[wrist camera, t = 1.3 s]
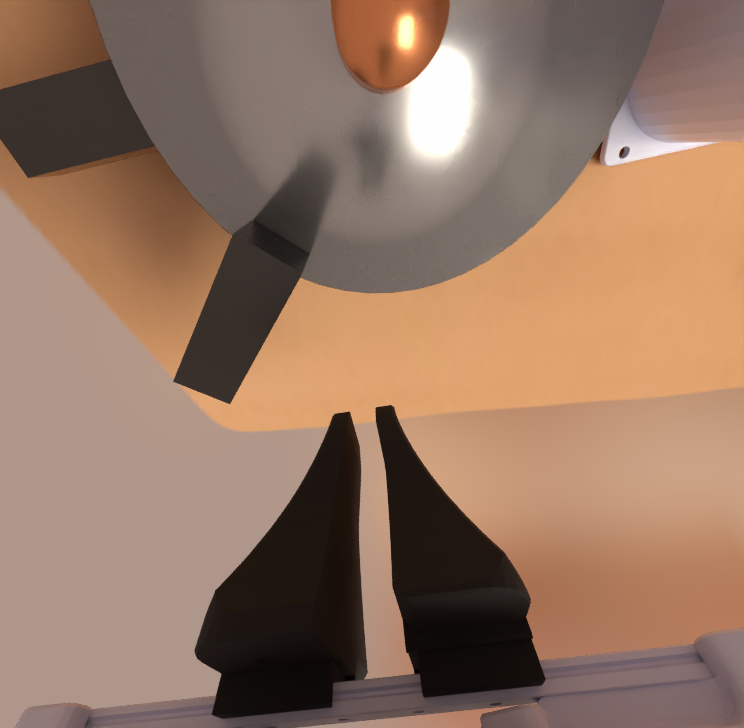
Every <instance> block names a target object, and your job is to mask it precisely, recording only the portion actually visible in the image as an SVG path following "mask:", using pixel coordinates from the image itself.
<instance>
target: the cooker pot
mask: <svg viewBox="0 0 744 728" xmlns="http://www.w3.org/2000/svg"><path fill="white" fill-rule="evenodd" d="M0 139H1V140H2V142H3V143H4V145H5V146H6V147H7V149H8V150H9V152H10V153H11V154H12V156H13V157H14V159H15V160H16V161H17V163H18V164H19V166H20V167H21V168H22V170H23V171H24V173H25V174H26V175H27V177H28V178H34V177H45V176H56V175H63V174H67V173H71V172H75V171H79V170H83V169H87V168H91V167H95V166H99V165H103V164H107V163H111V162H115V161H119V160H123V159H127V158H131V157H135V156H139V155H143V154H147V153H151V152H155V151H158V149H157V148H156V146H155V145H154V143H153V142H152V140H151V139H150V137H149V135H148V134H147V132H146V130H145V128H144V126H143V124H142V123H141V121H140V119H139V117H138V115H137V113H136V112H135V110H134V108H133V106H132V104H131V103H130V101H129V99H128V97H127V95H126V93H125V90H124V88H123V86H122V84H121V81H120V79H119V77H118V75H117V72H116V70H115V68H114V65H113V63H112V61H111V60H107V61H103V62H100V63H96V64H92V65H89V66H85V67H81V68H78V69H74V70H71V71H67V72H63V73H60V74H56V75H52V76H49V77H45V78H41V79H38V80H34V81H30V82H27V83H23V84H19V85H16V86H12V87H8V88H5V89H1V90H0Z"/></svg>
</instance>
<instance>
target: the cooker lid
mask: <svg viewBox="0 0 744 728" xmlns="http://www.w3.org/2000/svg"><path fill="white" fill-rule="evenodd" d="M90 3H91V6H92V9H93V12H94V15H95V18H96V21H97V24H98V27H99V29H100V32H101V35H102V38H103V41H104V44H105V47H106V49H107V52H108V54H109V56H110V59H111V61H112V63H113V65H114V68H115V70H116V72H117V75H118V77H119V79H120V81H121V84H122V86H123V88H124V90H125V93H126V95H127V97H128V99H129V101H130V103H131V104H132V106H133V108H134V110H135V112H136V113H137V115H138V117H139V119H140V121H141V123H142V124H143V126H144V128H145V130H146V132H147V134H148V135H149V137H150V139H151V140H152V142H153V143H154V145H155V146H156V148H157V149H158V151H159V152H160V154H161V155H162V157H163V158H164V160H165V161H166V163H167V164H168V166H169V167H170V169H171V170H172V172H173V173H174V174H175V175H176V177H177V178H178V179H179V180H180V182H181V183H182V184H183V185H184V187H185V188H186V189H187V190H188V192H189V193H190V194H191V195H192V196H193V198H194V199H195V200H196V201H197V202H198V203H199V204H200V205H201V207H202V208H203V209H204V210H205V211H206V212H207V213H208V214H209V215H210V216H211V217H212V218H213V219H214V220H215V221H216V222H217V223H218V224H219V225H220V226H221V227H222V228H224V229H225V230H226V231H227V232H228V233H230V234H231V235H232V238H231V241H230V243H229V246H228V248H227V250H226V253H225V255H224V258H223V260H222V263H221V265H220V268H219V270H218V273H217V275H216V277H215V280H214V282H213V285H212V287H211V290H210V292H209V295H208V297H207V300H206V302H205V305H204V307H203V309H202V312H201V314H200V317H199V319H198V322H197V324H196V327H195V329H194V332H193V334H192V337H191V339H190V341H189V344H188V346H187V349H186V351H185V354H184V356H183V359H182V361H181V364H180V366H179V368H178V371H177V373H176V376H175V378H174V381H173V382H176V383H178V384H181V385H183V386H186V387H188V388H191V389H193V390H196V391H198V392H201V393H203V394H206V395H208V396H211V397H213V398H216V399H218V400H221V401H223V402H226V403H228V404H230V403H231V401H232V399H233V398H234V396H235V394H236V392H237V390H238V389H239V387H240V385H241V383H242V381H243V380H244V378H245V376H246V374H247V372H248V371H249V369H250V367H251V365H252V363H253V362H254V360H255V358H256V356H257V354H258V352H259V351H260V349H261V347H262V345H263V343H264V342H265V340H266V338H267V336H268V334H269V333H270V331H271V329H272V327H273V325H274V324H275V322H276V320H277V318H278V316H279V315H280V313H281V311H282V309H283V307H284V306H285V304H286V302H287V300H288V298H289V297H290V295H291V293H292V291H293V289H294V287H295V286H296V284H297V282H298V280H299V278H303V279H305V280H308V281H311V282H314V283H316V284H319V285H323V286H327V287H331V288H336V289H340V290H344V291H353V292H362V293H394V292H401V291H409V290H416V289H420V288H424V287H427V286H431V285H435V284H439V283H442V282H444V281H447V280H449V279H452V278H454V277H457V276H459V275H462V274H464V273H466V272H468V271H470V270H472V269H474V268H475V267H477V266H479V265H481V264H483V263H485V262H487V261H488V260H490V259H491V258H493V257H494V256H496V255H497V254H499V253H500V252H502V251H503V250H505V249H506V248H507V247H509V246H510V245H512V244H513V243H514V242H515V241H517V240H518V239H519V238H520V237H521V236H522V235H524V234H525V233H526V232H527V231H528V230H530V229H531V228H532V227H533V226H534V225H535V224H536V223H537V222H538V221H539V220H540V219H541V218H542V217H543V216H544V215H545V214H546V213H547V212H548V211H549V210H550V209H551V208H552V207H553V206H554V205H555V204H556V203H557V202H558V201H559V200H560V198H561V197H562V196H563V195H564V193H565V192H566V191H567V190H568V188H569V187H570V186H571V185H572V183H573V182H574V181H575V180H576V178H577V177H578V176H579V175H580V174H581V172H582V171H583V169H584V168H585V166H586V165H587V163H588V162H589V160H590V159H591V157H592V156H593V154H594V153H595V151H596V150H597V148H598V147H599V145H600V144H601V142H602V141H603V139H604V138H605V136H606V134H607V132H608V130H609V129H610V127H611V125H612V123H613V121H614V120H615V118H616V116H617V114H618V112H619V111H620V109H621V107H622V105H623V103H624V102H625V99H626V97H627V95H628V93H629V91H630V88H631V86H632V84H633V82H634V80H635V77H636V75H637V73H638V71H639V69H640V66H641V64H642V62H643V60H644V58H645V55H646V52H647V49H648V46H649V44H650V41H651V38H652V35H653V33H654V30H655V27H656V24H657V21H658V19H659V16H660V13H661V10H662V8H663V4H664V0H90Z"/></svg>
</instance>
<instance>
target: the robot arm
mask: <svg viewBox="0 0 744 728" xmlns="http://www.w3.org/2000/svg"><path fill="white" fill-rule="evenodd" d="M718 142H744V0H664V4H663V8H662V10H661V13H660V16H659V19H658V21H657V24H656V27H655V30H654V33H653V35H652V38H651V41H650V44H649V46H648V49H647V52H646V55H645V58H644V60H643V62H642V64H641V66H640V69H639V71H638V73H637V75H636V77H635V80H634V82H633V84H632V86H631V88H630V91H629V93H628V95H627V97H626V99H625V102H624V103H623V105H622V107H621V109H620V111H619V112H618V114H617V116H616V118H615V120H614V121H613V123H612V125H611V127H610V129H609V130H608V132H607V134H606V136H605V138H604V139H603V142H602V148H601V153H600V163H601V164H602V165H603V166H614V165H618V164H623V163H627V162H632V161H636V160H641V159H645V158H650V157H654V156H659V155H664V154H668V153H673V152H677V151H682V150H686V149H691V148H695V147H700V146H704V145H709V144H713V143H718ZM623 147H624V153H623V155H622V156H621V157H619V152H620V150H621V149H622V148H623ZM376 423H377V428H378V433H379V438H380V443H381V448H382V453H383V457H384V462H385V469H386V479H387V490H388V491H387V492H388V505H389V522H390V540H391V561H392V585H393V590H394V593H395V596H396V599H397V603H398V606H399V609H400V612H401V615H402V618H403V627H404V636H405V645H406V652H407V653H409V656H410V659H411V662H412V665H413V668H414V674H411V675H402V676H392V677H383V678H374V679H365V680H364V678H365V677H366V675H367V672H368V671H367V660H366V647H365V634H364V621H363V605H362V593H361V592H362V591H361V574H360V555H359V554H360V553H359V509H360V487H361V484H360V483H361V460H360V447H359V443H358V439H357V436H356V432H355V429H354V425H353V421H352V418H351V414H350V412H344V413H338V414H334V416H333V417H332V420H331V423H330V425H329V428H328V431H327V433H326V435H325V438H324V440H323V442H322V444H321V446H320V449H319V451H318V453H317V455H316V457H315V459H314V461H313V463H312V465H311V467H310V468H309V470H308V472H307V474H306V476H305V478H304V480H303V481H302V483H301V485H300V486H299V488H298V490H297V491H296V493H295V494H294V496H293V497H292V499H291V500H290V502H289V504H288V505H287V506H286V508H285V509H284V511H283V512H282V513H281V515H280V516H279V518H278V519H277V521H276V522H275V523H274V525H273V526H272V527H271V529H270V530H269V531H268V532H267V533H266V535H265V536H264V537H263V538H262V540H261V541H260V542H259V543H258V544H257V546H256V547H255V548H254V549H253V550H252V552H251V553H250V554H249V555H248V556H247V557H246V559H245V560H244V561H243V562H242V563H241V564H240V565H239V566H238V567H237V568H236V569H235V571H234V572H233V573H232V574H231V575H230V576H229V577H228V578H227V579H226V580H225V581H224V582H223V583H222V584H221V586H219V588H218V589H216V591H215V593H214V596H213V598H212V601H211V603H210V605H209V608H208V610H207V613H206V616H205V619H204V622H203V625H202V629H201V632H200V635H199V638H198V641H197V644H196V647H195V654H196V657H197V659H199V660H200V661H201V662H202V663H204V664H206V665H207V666H209V667H211V668H213V669H215V670H216V671H218V672H220V673H221V679H220V682H219V686H218V690H217V694H216V696H209V697H201V698H190V699H181V700H173V701H164V702H154V703H144V704H135V705H126V706H117V707H108V708H99V709H91V708H90V707H88V706H86V705H82V704H77V703H60V704H52V705H43V706H33V707H29V708H28V709H26V710H25V711H24V713H23V714H22V716H21V717H20V719H19V721H18V723H17V724H16V726H15V728H297V727H307V726H317V725H326V724H336V723H346V722H356V721H366V720H376V719H385V718H395V717H404V716H415V715H425V714H435V713H444V712H454V711H464V710H473V709H483V708H494V707H503V706H513V705H519V706H514V707H510V708H506V709H502V710H497V711H493V712H489V713H485V714H482V716H481V718H480V720H481V725H482V727H481V728H744V628H738V629H729V630H721V631H714V632H710V633H707V634H703V635H701V636H699V637H698V638H697V639H696V640H695V641H694V644H687V645H677V646H668V647H659V648H650V649H641V650H632V651H622V652H612V653H604V654H594V655H585V656H576V657H567V658H557V659H548V660H539V659H538V656H537V654H536V651H535V648H534V645H533V642H532V640H531V639H532V638H533V636H532V632H531V630H530V627H529V624H528V621H527V619H526V616H527V613H528V610H529V607H530V603H531V602H530V596H529V594H528V591H527V589H526V587H525V585H524V583H523V581H522V579H521V578H520V576H519V574H518V573H517V571H516V569H515V568H514V566H513V565H512V563H511V562H510V560H509V559H508V557H507V556H506V554H505V553H504V552H503V551H502V550H501V549H500V548H499V547H498V546H497V545H496V544H495V543H493V542H492V541H491V540H490V539H489V538H488V537H487V536H486V535H485V534H484V533H482V531H481V530H480V529H479V528H478V527H477V526H476V525H475V524H474V523H473V522H472V521H471V520H470V519H469V518H468V517H467V516H466V515H465V514H464V513H463V512H462V511H461V510H460V509H459V508H458V506H457V505H456V504H455V503H454V502H453V501H452V500H451V499H450V498H449V497H448V496H447V494H446V493H445V492H444V491H443V489H442V488H441V487H440V486H439V485H438V483H437V482H436V481H435V479H434V478H433V477H432V476H431V474H430V473H429V472H428V470H427V469H426V467H425V466H424V465H423V463H422V462H421V460H420V459H419V457H418V456H417V454H416V452H415V451H414V449H413V448H412V446H411V444H410V442H409V441H408V439H407V437H406V436H405V434H404V432H403V430H402V427H401V426H400V423H399V421H398V418H397V416H396V413H395V409H394V407H393V406H392V405H389V406H382V407H376ZM533 703H537V704H533ZM523 704H527V705H523Z"/></svg>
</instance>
